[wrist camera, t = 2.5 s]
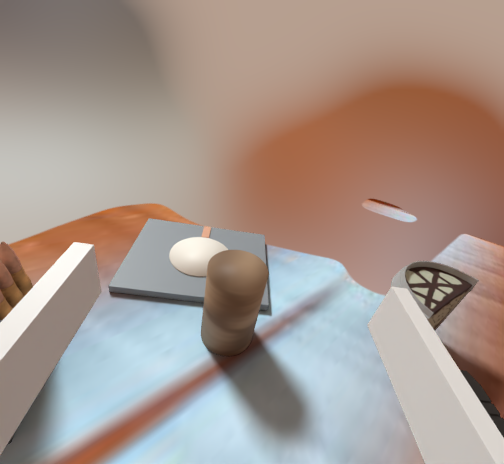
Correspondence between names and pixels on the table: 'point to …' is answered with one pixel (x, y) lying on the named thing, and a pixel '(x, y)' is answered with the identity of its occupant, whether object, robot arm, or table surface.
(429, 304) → the food container
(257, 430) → the table surface
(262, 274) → the brown cylinder
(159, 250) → the seat board
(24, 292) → the ammunition clip
